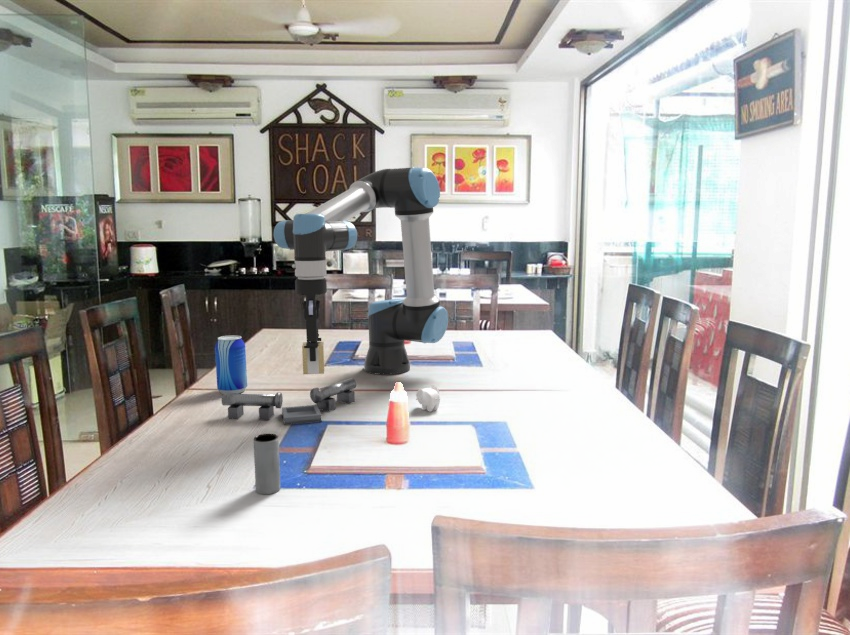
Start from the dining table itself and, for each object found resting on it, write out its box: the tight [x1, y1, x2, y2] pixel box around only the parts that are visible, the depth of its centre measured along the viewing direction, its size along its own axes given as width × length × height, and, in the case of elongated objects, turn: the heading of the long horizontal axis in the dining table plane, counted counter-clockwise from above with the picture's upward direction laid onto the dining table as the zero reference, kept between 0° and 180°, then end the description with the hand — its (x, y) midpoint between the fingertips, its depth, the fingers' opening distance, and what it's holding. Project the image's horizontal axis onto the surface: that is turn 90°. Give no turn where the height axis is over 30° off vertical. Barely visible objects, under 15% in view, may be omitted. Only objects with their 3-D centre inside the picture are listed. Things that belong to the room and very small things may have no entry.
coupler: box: [301, 341, 325, 375], centre depth 162 cm, size 6×5×7 cm
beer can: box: [214, 334, 248, 395], centre depth 190 cm, size 8×8×16 cm
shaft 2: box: [309, 377, 358, 412], centre depth 176 cm, size 15×4×6 cm, turn 146°
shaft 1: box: [220, 392, 284, 421], centre depth 166 cm, size 15×4×6 cm, turn 86°
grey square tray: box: [281, 404, 322, 426], centre depth 166 cm, size 9×9×2 cm
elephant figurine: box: [415, 385, 441, 412], centre depth 172 cm, size 7×8×6 cm
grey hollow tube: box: [252, 432, 281, 495], centre depth 123 cm, size 4×4×10 cm
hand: (313, 370), depth 163 cm, fingers closed on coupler, 6 cm apart
